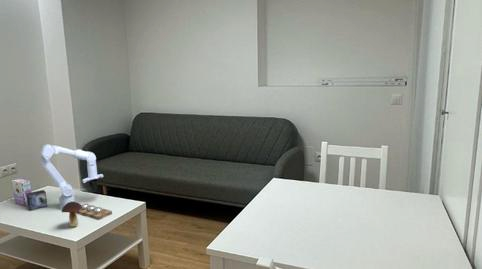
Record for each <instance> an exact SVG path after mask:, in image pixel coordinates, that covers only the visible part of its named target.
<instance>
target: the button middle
mask: <svg viewBox="0 0 482 269" xmlns="http://www.w3.org/2000/svg"><path fill="white" fill-rule="evenodd" d="M95 207H96V206H95V205H92V206H88V207H87V208H88V211H94V209H95Z"/></svg>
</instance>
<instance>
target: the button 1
mask: <svg viewBox="0 0 482 269" xmlns="http://www.w3.org/2000/svg"><path fill="white" fill-rule="evenodd" d="M89 205H90V204H89V203H83V204H81V206H82V207H83V208H82V210H85V209H88V208H87V207H88V206H89Z"/></svg>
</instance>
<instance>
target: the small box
mask: <svg viewBox="0 0 482 269" xmlns="http://www.w3.org/2000/svg"><path fill="white" fill-rule="evenodd" d="M26 196H27V204H28V205H27V209H28V210H29V211H31V212H32V211H35V210H40V209H43V208H47V207H49V206H48V198H47V193H46V191H45V190H44V189H41V190H36V191H32V192H31V193H27V194H26Z"/></svg>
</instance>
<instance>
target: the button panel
mask: <svg viewBox="0 0 482 269" xmlns="http://www.w3.org/2000/svg"><path fill="white" fill-rule="evenodd" d="M89 206H92V205H91V204H89ZM97 207H98V206H95V208H97ZM101 208H102V207H101ZM75 212H76V215H77V214H78V215H80V216H83V217H88V218H91V219H94V220H98V221H100V220H102V219H103V218H106V217H109V216H110V215H113V211H112V210H110V209H106V208H102V212H101V213H94V211H88V209H85V210H82V209H80V210H78V211H75Z"/></svg>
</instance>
